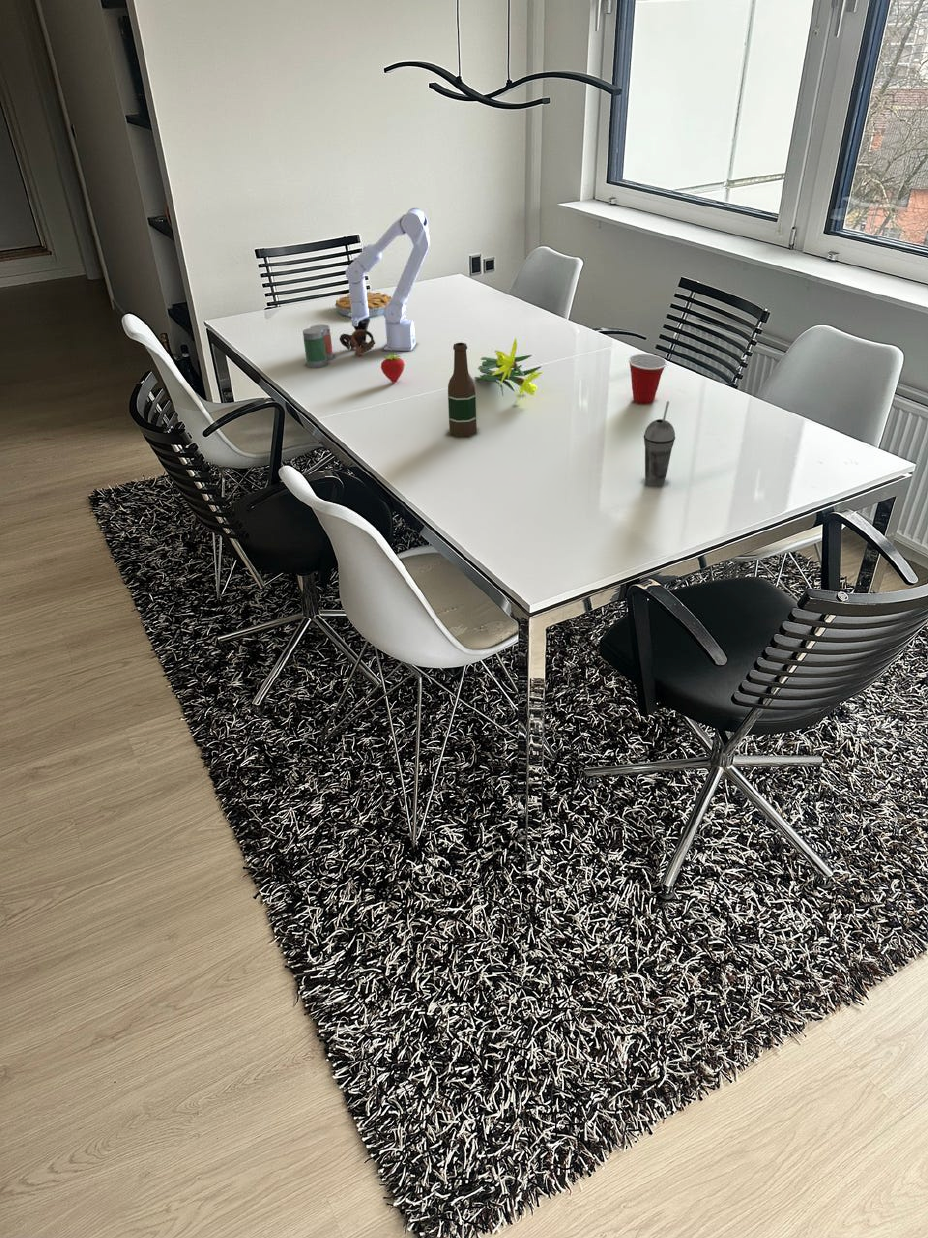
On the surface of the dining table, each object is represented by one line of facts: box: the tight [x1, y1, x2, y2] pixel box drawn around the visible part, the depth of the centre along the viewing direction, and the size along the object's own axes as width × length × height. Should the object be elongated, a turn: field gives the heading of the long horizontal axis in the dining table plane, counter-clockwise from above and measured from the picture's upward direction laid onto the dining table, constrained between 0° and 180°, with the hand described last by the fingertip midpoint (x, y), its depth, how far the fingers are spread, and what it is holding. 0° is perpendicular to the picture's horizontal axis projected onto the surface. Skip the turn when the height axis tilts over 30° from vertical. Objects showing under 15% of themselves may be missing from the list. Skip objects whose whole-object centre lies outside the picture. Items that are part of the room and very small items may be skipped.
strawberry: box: [380, 350, 405, 384], centre depth 271 cm, size 6×8×10 cm
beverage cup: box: [642, 400, 676, 487], centre depth 207 cm, size 7×7×20 cm
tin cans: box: [302, 324, 334, 369], centre depth 290 cm, size 6×13×11 cm, turn 170°
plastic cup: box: [628, 353, 668, 405], centre depth 252 cm, size 11×11×12 cm
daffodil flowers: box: [474, 337, 544, 407], centre depth 259 cm, size 17×15×35 cm
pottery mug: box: [339, 329, 376, 357], centre depth 298 cm, size 12×10×8 cm
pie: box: [334, 292, 393, 319], centre depth 339 cm, size 22×22×5 cm
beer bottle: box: [447, 342, 477, 439], centre depth 234 cm, size 8×8×24 cm
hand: (362, 341), depth 303 cm, fingers closed
